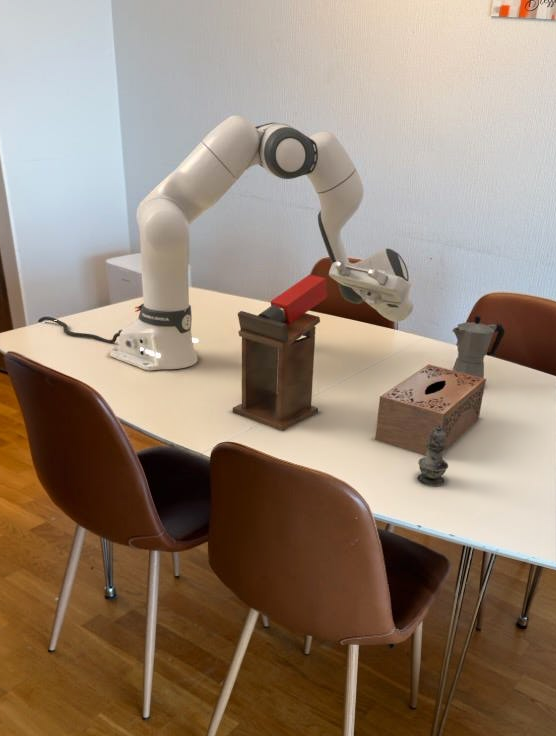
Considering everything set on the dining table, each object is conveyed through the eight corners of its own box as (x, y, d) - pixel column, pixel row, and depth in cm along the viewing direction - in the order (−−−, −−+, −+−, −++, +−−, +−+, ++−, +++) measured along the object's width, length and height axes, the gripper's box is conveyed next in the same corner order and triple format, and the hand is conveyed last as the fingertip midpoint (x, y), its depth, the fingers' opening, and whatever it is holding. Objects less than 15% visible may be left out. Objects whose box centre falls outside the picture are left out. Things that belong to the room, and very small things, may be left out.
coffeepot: (453, 392, 182) (465, 322, 173) (435, 379, 189) (446, 311, 180) (504, 388, 188) (517, 320, 178) (485, 375, 195) (497, 309, 186)
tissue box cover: (422, 403, 174) (428, 364, 169) (478, 418, 168) (486, 378, 163) (375, 439, 154) (379, 396, 149) (436, 458, 149) (443, 414, 143)
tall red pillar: (310, 314, 164) (312, 273, 159) (325, 318, 162) (328, 277, 157) (255, 331, 149) (255, 287, 145) (271, 336, 148) (272, 292, 143)
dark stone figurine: (413, 472, 143) (421, 416, 136) (442, 473, 143) (451, 418, 137) (418, 486, 138) (427, 429, 131) (448, 487, 138) (458, 431, 132)
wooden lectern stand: (271, 395, 170) (273, 299, 158) (318, 412, 164) (324, 313, 152) (232, 412, 160) (232, 311, 148) (281, 430, 154) (284, 326, 142)
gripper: (348, 269, 185) (323, 247, 172) (417, 285, 176) (395, 262, 163) (340, 292, 185) (314, 272, 173) (408, 309, 176) (386, 289, 164)
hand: (354, 267), depth 168 cm, fingers open, 8 cm apart
